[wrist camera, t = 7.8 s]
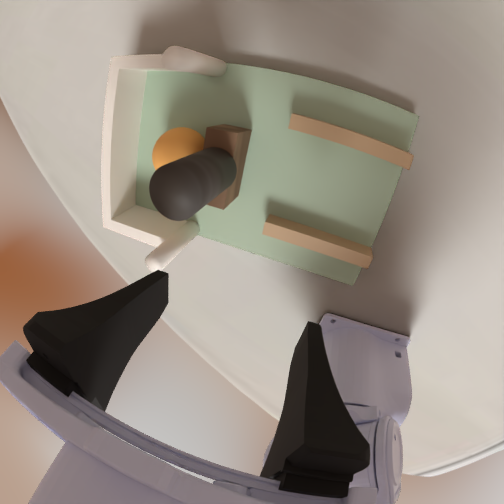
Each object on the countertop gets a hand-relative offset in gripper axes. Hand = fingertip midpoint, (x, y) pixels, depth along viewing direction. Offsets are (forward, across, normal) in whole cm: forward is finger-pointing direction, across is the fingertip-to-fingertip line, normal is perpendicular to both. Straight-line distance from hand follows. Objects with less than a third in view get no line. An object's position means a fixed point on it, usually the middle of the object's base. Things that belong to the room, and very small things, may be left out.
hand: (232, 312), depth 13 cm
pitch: (+10, +2, -4) cm, 12 cm away
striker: (+9, +4, -4) cm, 11 cm away
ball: (+8, +7, -4) cm, 11 cm away
